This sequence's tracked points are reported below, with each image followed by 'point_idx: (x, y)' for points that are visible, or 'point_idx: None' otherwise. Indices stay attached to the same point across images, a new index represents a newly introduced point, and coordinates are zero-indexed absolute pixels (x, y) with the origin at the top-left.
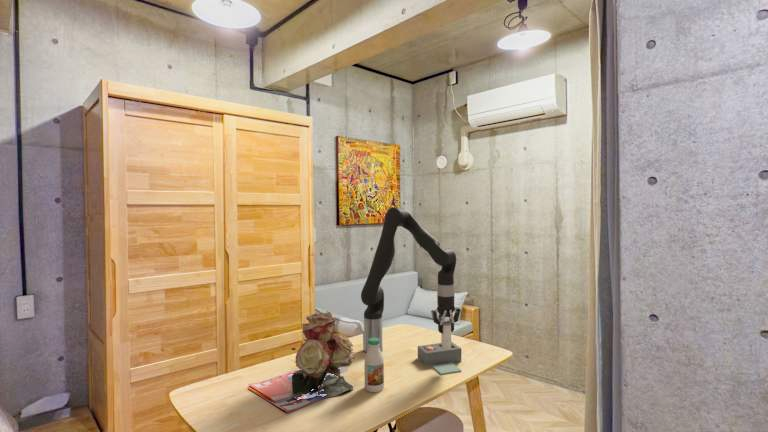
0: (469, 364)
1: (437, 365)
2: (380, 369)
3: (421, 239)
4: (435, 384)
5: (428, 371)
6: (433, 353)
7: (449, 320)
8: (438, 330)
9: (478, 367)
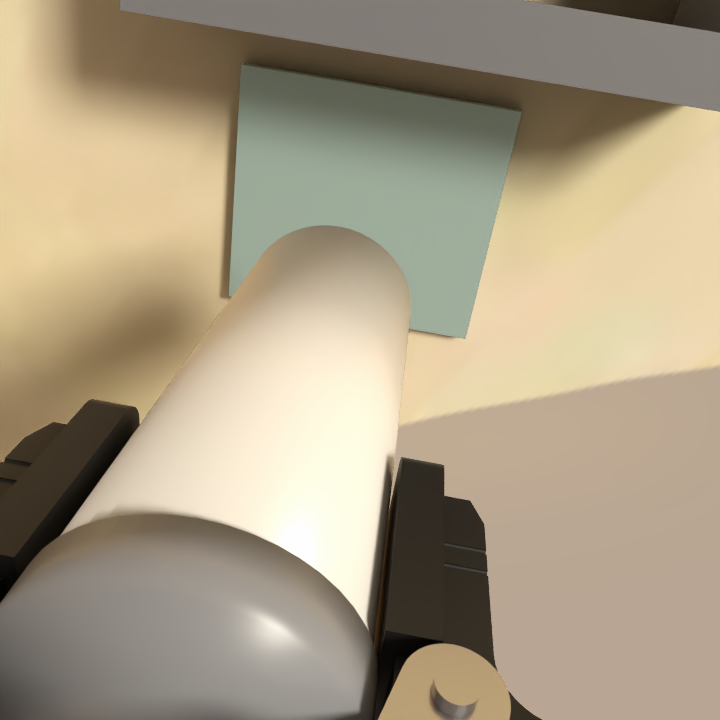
0: (693, 233)
1: (307, 96)
2: None
3: None
4: None
5: (151, 154)
6: (251, 32)
7: (383, 710)
8: (30, 447)
9: (702, 344)
